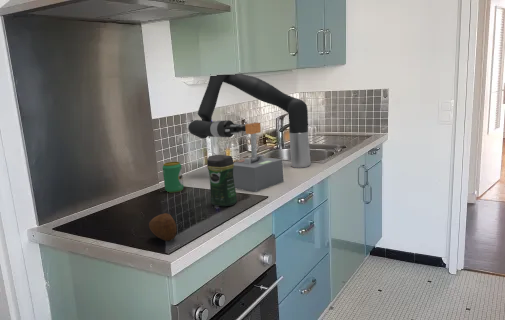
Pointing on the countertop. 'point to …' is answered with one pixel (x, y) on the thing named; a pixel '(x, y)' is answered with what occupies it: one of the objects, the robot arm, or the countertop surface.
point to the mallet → (253, 139)
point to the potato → (163, 227)
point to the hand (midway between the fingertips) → (250, 128)
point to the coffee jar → (221, 180)
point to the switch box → (257, 173)
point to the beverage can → (173, 177)
